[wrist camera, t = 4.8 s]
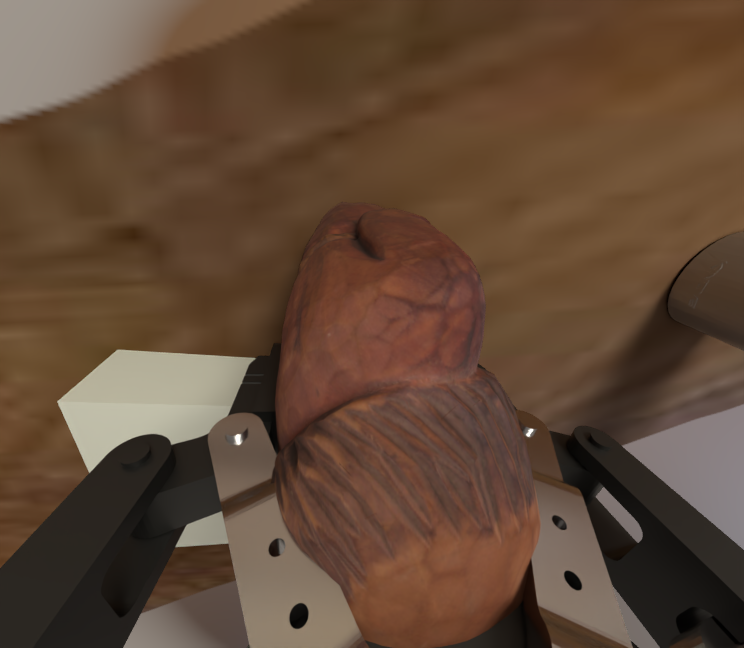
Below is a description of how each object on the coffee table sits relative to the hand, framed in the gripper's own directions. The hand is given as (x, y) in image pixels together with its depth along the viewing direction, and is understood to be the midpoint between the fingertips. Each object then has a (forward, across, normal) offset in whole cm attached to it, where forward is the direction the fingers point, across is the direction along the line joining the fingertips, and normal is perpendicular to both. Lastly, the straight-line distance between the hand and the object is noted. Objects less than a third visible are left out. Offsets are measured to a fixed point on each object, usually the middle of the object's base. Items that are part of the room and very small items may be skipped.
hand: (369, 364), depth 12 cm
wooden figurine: (+10, 0, 0) cm, 10 cm away
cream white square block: (+12, +10, +17) cm, 23 cm away
